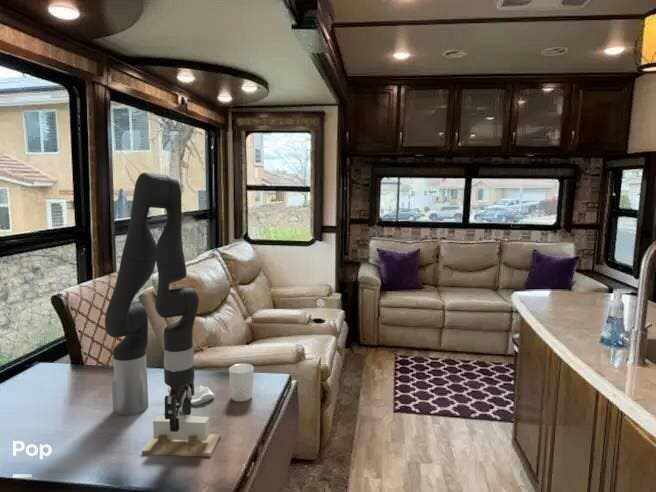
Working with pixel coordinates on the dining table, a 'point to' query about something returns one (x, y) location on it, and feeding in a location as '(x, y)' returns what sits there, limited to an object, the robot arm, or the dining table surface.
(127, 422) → the dining table surface
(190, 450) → the rack
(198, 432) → the white rectangular block
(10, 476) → the dining table surface
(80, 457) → the dining table surface
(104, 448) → the dining table surface
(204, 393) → the rose
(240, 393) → the white cup
